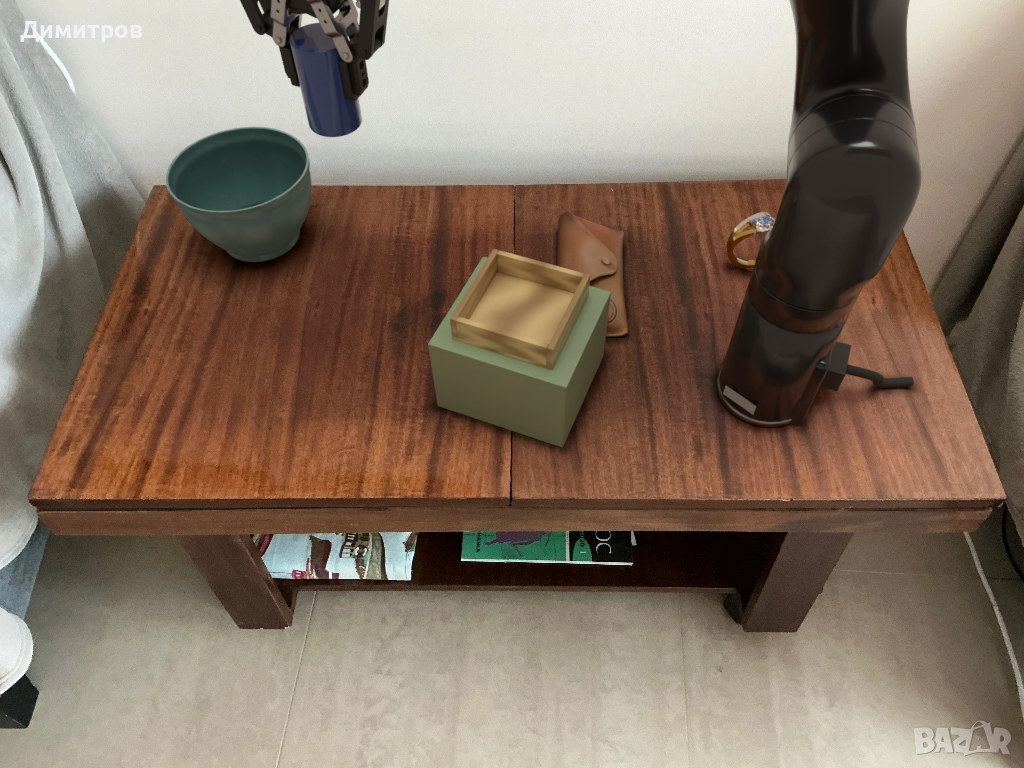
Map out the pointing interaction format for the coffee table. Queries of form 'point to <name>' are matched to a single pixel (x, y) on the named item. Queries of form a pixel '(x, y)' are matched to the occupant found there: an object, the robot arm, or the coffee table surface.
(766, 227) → the ring
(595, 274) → the sunglasses case
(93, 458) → the coffee table surface
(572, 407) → the riser
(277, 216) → the teal bowl
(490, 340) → the tray
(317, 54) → the blue cylinder
